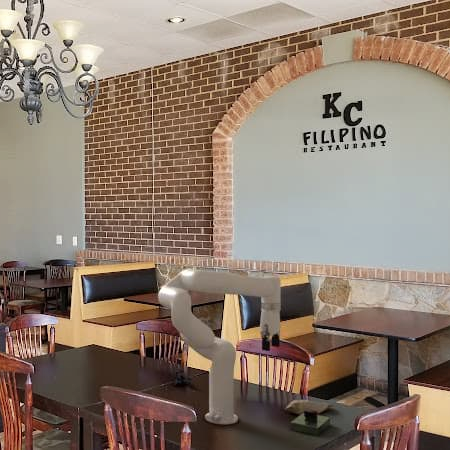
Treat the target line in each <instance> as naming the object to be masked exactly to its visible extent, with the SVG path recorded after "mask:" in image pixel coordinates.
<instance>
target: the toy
mask: <svg viewBox="0 0 450 450" xmlns="http://www.w3.org/2000/svg"><path fill="white" fill-rule="evenodd" d="M173 377H174V378H176V379H177V380H172V384H173V385H175V386H176V387H181V386H183V385H185V384H186V385H191V383H192V382H191V380H192V378H191V377H190V376H187V375H186V374H184V370H183V369H181V368H178V370H174V371H173Z"/></svg>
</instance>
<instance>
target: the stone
mask: <svg viewBox="0 0 450 450" xmlns="http://www.w3.org/2000/svg"><path fill="white" fill-rule="evenodd" d="M331 407H335V405H334V404H331V403H327V402H321V401H312V400H308V399H294V400H292V401H291V402H290V403H288V404H287V406H286V407H285V408H284V411H286V412H289V413H292V414H296V415H298V416H300V415H301V414H303V413H304V409H306V408H312V409H316V410H317V415H319V414H321V413H323V412H325V411H328V410H330V408H331Z"/></svg>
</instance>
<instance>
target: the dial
mask: <svg viewBox="0 0 450 450" xmlns="http://www.w3.org/2000/svg"><path fill="white" fill-rule="evenodd" d="M317 415H318V413H317V410H316V409H312V408H306V409H304V420H306V421H310V422H315V421H317Z"/></svg>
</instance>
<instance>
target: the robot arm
mask: <svg viewBox="0 0 450 450" xmlns="http://www.w3.org/2000/svg"><path fill="white" fill-rule="evenodd" d="M281 284H282V283H281V278H280V276H276V275H264V276H256V275H242V274H237V273H233V272H228V271H215V270H207V269H198V268H191V267H189V268H185V269H183V270H182V271H180V272H179V273H178V274H176V275H175V276H174V277H172V279H170V280H169V281H168V282H167V283H166V284H165V285H163V286H162V287H161V288H160V289H159V292H158V294H157V299H158V302H159V304H160V305H161V306H162V307H165V308H167V309H170V310H171V311H170V316H171V323H172V325H173V327H174V328H175V329H176V330H177V332H179V335H180V338H181V340H182V342H183V343H184V344H185V345H187V346H188V347H189V348H191V349H192V350H193V351H194V352H195V353H197V354H198V355H200V356H202V357H203V358H204V359H206V360H209V361H211V365H210V368H209V371H208V372H209V373H208V412H207V413H206V414H205V416H204V418H205V421H207V422H208V423H211V424H216V425H234V424H236V423H237V422H238V421H239V417H238V415H236V414H235V382H234V381H235V363H236V359H237V350H236V348H235V346H234V344H233V343H232V342H231V341H228V340H227V339H224V338H221V337H218V336H215V333H214V331H213V329H212V328H210V327H209V326H208V325H206V324H205V323H204V322H203V321H202V320H201V319H199V318H198V317H197V316H195V315H194V314H193V312H192V297H191V295H190V293H189V291H193V292H198V293H209V294H210V293H211V294H221V295H222V294H223V295H231V296H232V295H233V296H247V297H256V298H257V297H259V298H261V300H260V301H261V303H260V305H261V306H260V307H261V313H260V314H261V315H260V324H259V334H260V337H261V350H262V351H265V352H270V351H271V347H275V348H276V347H277V348H279V347H280V341H281V339H280V336H281V334H280V333H281V316H280V313H281V312H280V311H281V308H282V307H281V302H282V301H281V298H282V297H281V294H282V293H281V292H282V291H281V287H282V286H281ZM270 339H271V340H270Z"/></svg>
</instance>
